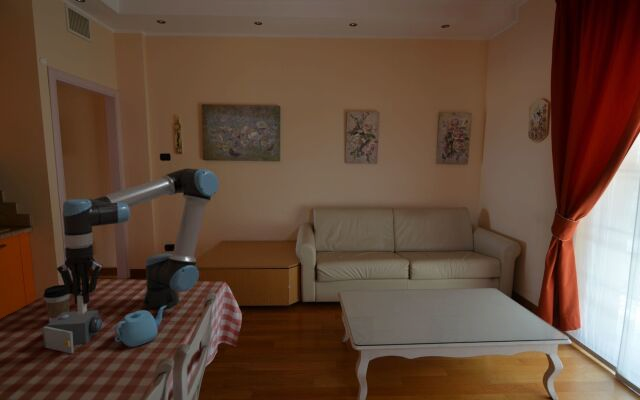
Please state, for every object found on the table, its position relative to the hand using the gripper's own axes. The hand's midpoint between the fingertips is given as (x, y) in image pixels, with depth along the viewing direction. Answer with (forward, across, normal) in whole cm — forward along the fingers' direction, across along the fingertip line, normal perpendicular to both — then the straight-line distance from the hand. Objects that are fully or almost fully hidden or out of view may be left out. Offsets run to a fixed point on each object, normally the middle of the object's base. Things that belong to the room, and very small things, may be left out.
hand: (82, 312), depth 110 cm
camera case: (+14, +7, -10) cm, 18 cm away
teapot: (+14, -16, -6) cm, 23 cm away
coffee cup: (+14, +20, -22) cm, 33 cm away
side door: (+14, +9, -1) cm, 17 cm away
